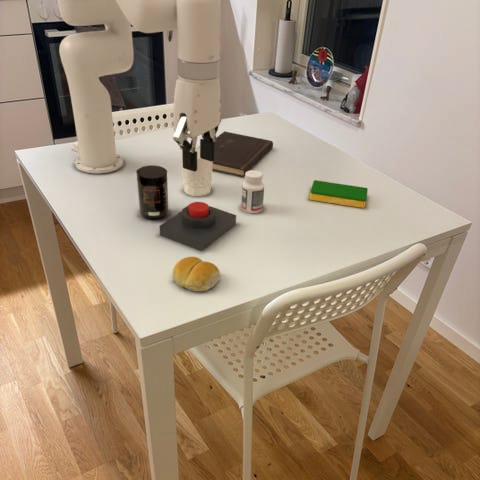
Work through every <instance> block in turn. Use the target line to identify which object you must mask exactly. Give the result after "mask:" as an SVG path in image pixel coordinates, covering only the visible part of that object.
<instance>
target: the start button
mask: <svg viewBox="0 0 480 480" xmlns="http://www.w3.org/2000/svg"><path fill="white" fill-rule="evenodd" d="M188 206H189V215H190V216H192V217H195V218H202V217H207V216H208V215H209V206H210V205H209V204H208V203H206V202H204V201H194V202H191V203H189V204H188Z"/></svg>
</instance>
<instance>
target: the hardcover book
mask: <svg viewBox="0 0 480 480" xmlns="http://www.w3.org/2000/svg"><path fill="white" fill-rule="evenodd" d="M213 142H214V141H213ZM273 147H274V142H273V141H272V140H270V139H264V138H259V137H255V136H249V135H245V134H240V133H234V132H230V131H222V132H221V133H220V134H219V135H218V136H216V141H215V148H214V161H213V169H212V172H218V173H222V174H226V175H231V176H235V177H240V178H244V177H245V173H246V172H247V171H250V170H252V169H253V168H254V167H255V166H256V165H257V164H258V163H259V162H260V161H261V160H262V158H264V157H265V155H267V154H268V153H269V152H270V151H271V150H272V149H273Z"/></svg>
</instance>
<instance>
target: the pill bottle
mask: <svg viewBox="0 0 480 480" xmlns="http://www.w3.org/2000/svg"><path fill="white" fill-rule="evenodd" d="M244 179H245V180H244V181H243V182H242V184H241V199H240V200H241V201H240V209H241V210H242V211H243V212H245V213H249V214H257V213H260V212H262V211H263V208H264V197H265V183H264V181H263V173H262V171H259V170H256V169H255V170H254V169H250V170H249V171H247V172H246V173H245V175H244Z"/></svg>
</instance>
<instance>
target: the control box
mask: <svg viewBox="0 0 480 480" xmlns="http://www.w3.org/2000/svg"><path fill="white" fill-rule="evenodd" d="M208 206H209V215H208V216H207V217H202V218H195V217H192V216H190V215H189V205H187V206H185V207H183V208H182V209H181V211H179V212H177V214H175V215H174V216H172V217H171V218H169V219H167V220H166V221H164V222H163V223H162V224H160V225H159V236H160V237H162V238H165V239H167V240H171V241H173V242H176V243H179V244H181V245H184V246H186V247H189V248H192V249H194V250H197V251H199V252H203V251H205V249H206V248H208V247H209V246H210V245H211V244H213V243H214V242H215V241H217V240H218V239H219V238H221V237H222V236H223V235H224V234H226V233H227V232H228V231H229V230H231V229H232V228H234V227H235V226H236V225H237V214H234V213H231V212H228V211H226V210H222V209H219V208H217V207H213V206H210V205H208Z"/></svg>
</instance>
